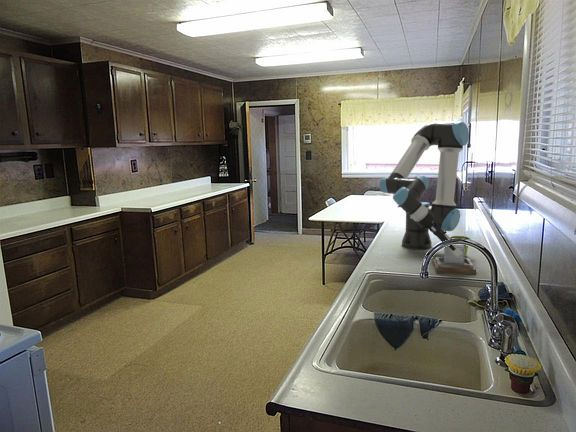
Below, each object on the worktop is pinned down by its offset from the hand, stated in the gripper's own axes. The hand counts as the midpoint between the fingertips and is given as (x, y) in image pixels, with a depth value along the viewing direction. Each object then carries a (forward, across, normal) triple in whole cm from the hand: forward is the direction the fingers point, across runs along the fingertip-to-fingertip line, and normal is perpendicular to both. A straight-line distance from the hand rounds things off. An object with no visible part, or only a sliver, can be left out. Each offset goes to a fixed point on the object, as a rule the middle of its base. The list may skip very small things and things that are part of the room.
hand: (456, 250), depth 186 cm
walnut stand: (+5, 0, -7) cm, 8 cm away
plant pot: (+10, -21, -3) cm, 23 cm away
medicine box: (+4, 0, -5) cm, 7 cm away
